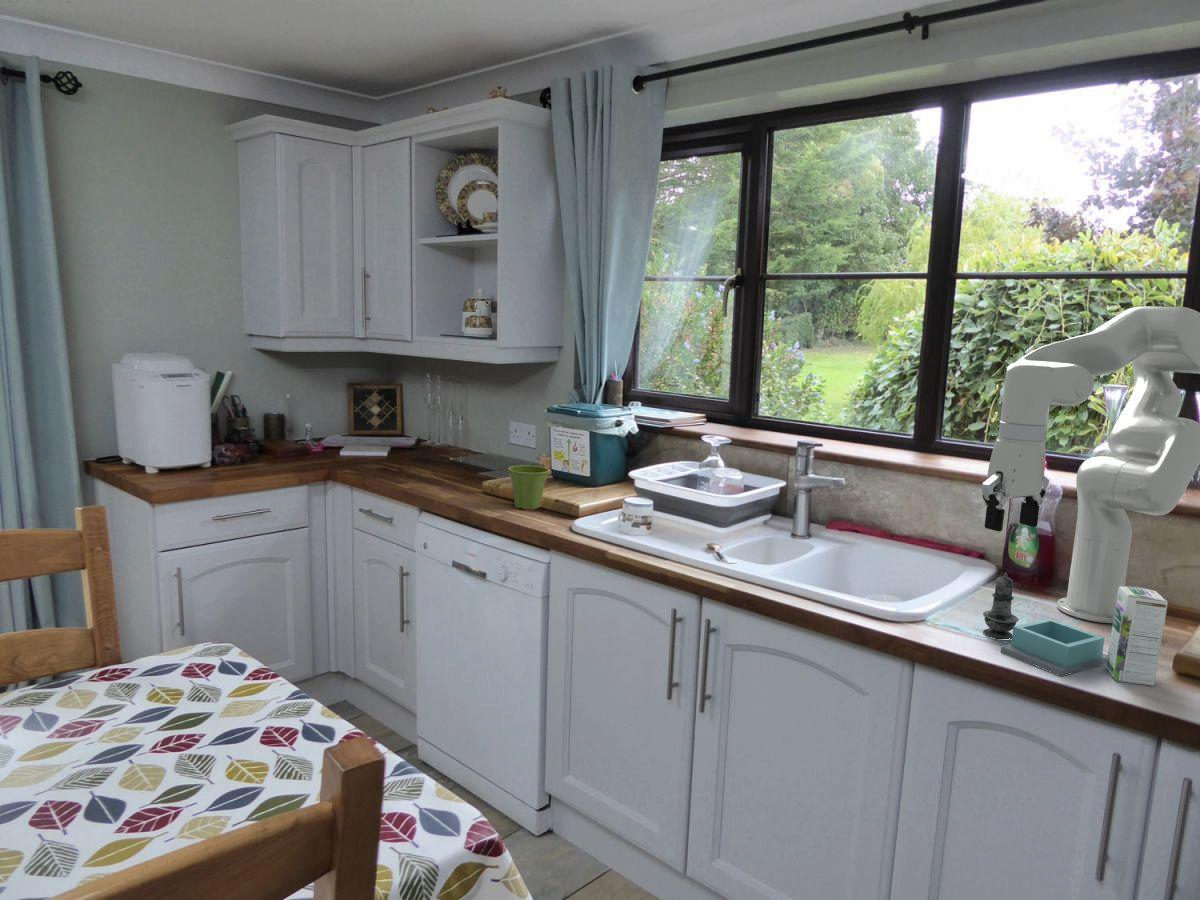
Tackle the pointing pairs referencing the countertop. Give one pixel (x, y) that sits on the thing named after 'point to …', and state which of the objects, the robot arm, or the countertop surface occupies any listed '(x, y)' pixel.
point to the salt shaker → (1001, 610)
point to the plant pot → (528, 485)
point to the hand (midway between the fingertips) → (1010, 527)
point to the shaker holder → (1056, 647)
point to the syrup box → (1136, 635)
